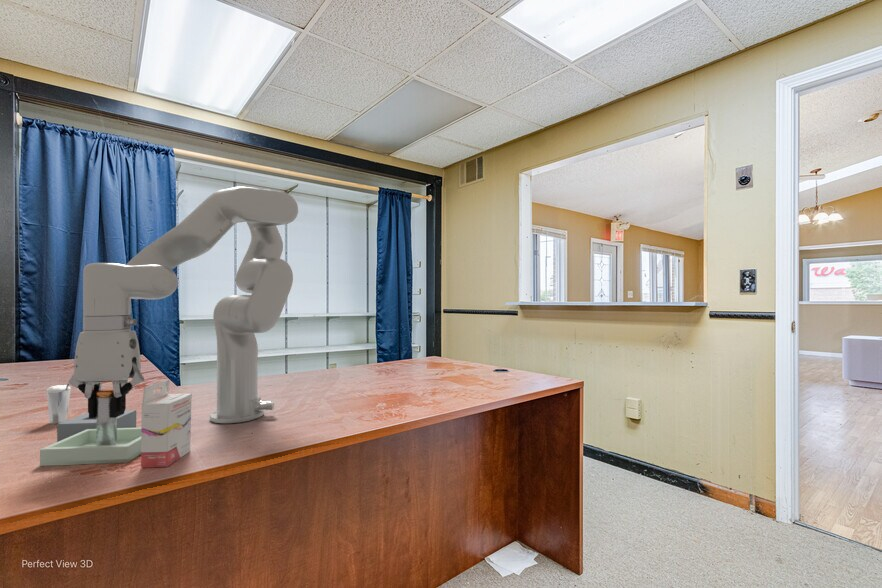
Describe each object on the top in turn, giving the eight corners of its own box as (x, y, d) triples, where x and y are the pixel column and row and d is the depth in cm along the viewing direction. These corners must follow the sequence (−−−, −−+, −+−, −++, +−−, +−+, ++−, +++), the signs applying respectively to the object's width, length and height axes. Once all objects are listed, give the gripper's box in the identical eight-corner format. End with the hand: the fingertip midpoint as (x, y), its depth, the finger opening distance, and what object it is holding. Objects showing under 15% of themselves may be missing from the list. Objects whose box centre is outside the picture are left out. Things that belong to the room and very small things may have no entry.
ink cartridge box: (168, 467, 76) (169, 387, 77) (139, 468, 76) (140, 387, 76) (192, 450, 85) (192, 378, 85) (166, 451, 85) (167, 378, 85)
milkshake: (58, 425, 101) (58, 384, 101) (40, 424, 102) (41, 383, 102) (78, 420, 105) (78, 380, 106) (61, 418, 107) (61, 379, 107)
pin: (120, 442, 86) (121, 388, 86) (110, 448, 82) (110, 392, 82) (103, 442, 85) (103, 388, 85) (91, 448, 82) (92, 392, 82)
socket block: (136, 426, 100) (136, 410, 100) (108, 441, 90) (108, 422, 90) (90, 428, 99) (90, 411, 99) (57, 442, 89) (57, 424, 89)
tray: (162, 440, 91) (162, 426, 91) (127, 462, 79) (127, 446, 79) (87, 443, 89) (87, 429, 89) (39, 465, 77) (40, 449, 77)
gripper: (161, 323, 89) (161, 409, 89) (76, 323, 87) (76, 412, 87) (140, 325, 81) (139, 420, 81) (47, 326, 79) (46, 423, 79)
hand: (106, 415), depth 84 cm, fingers closed on pin, 3 cm apart
